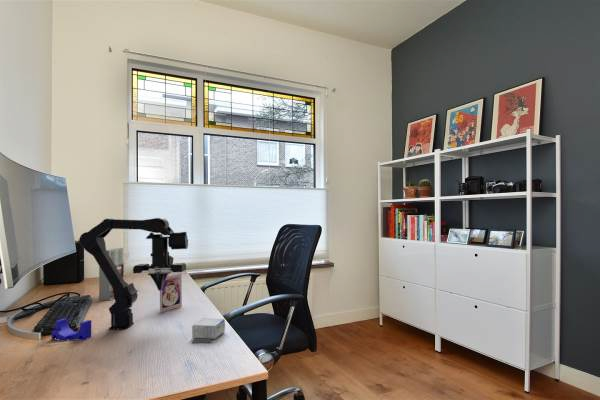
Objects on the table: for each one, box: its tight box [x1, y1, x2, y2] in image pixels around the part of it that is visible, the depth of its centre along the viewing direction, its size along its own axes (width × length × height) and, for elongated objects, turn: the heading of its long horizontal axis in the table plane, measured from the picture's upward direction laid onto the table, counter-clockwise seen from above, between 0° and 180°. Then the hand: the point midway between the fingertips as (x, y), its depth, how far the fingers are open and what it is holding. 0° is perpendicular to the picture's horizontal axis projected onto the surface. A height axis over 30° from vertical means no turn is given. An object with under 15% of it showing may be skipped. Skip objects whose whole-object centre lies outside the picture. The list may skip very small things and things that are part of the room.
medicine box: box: [191, 317, 226, 340], centre depth 117 cm, size 8×4×9 cm
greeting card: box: [159, 272, 183, 313], centre depth 152 cm, size 11×7×15 cm, turn 148°
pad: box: [191, 338, 213, 344], centre depth 117 cm, size 6×14×1 cm, turn 0°
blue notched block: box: [51, 318, 92, 341], centre depth 117 cm, size 12×4×6 cm, turn 77°
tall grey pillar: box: [98, 247, 125, 301], centre depth 176 cm, size 14×6×25 cm, turn 179°
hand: (160, 290), depth 130 cm, fingers closed
